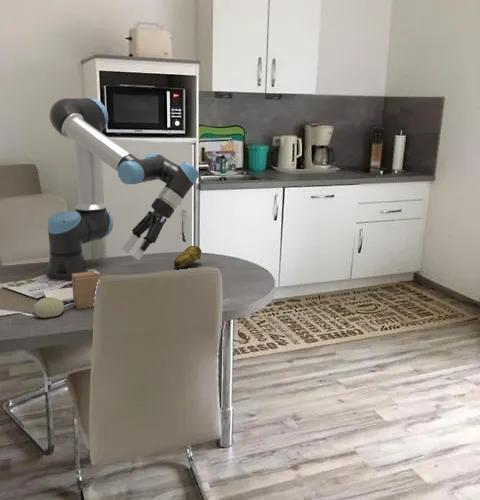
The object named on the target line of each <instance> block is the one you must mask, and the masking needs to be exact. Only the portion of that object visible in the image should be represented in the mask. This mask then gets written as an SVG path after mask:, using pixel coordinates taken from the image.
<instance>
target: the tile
mask: <svg viewBox="0 0 480 500" xmlns="http://www.w3.org/2000/svg"><path fill="white" fill-rule="evenodd" d="M44 295H45V296H44ZM43 296H44V298H45V297H53V298H57V299H59V300H61V301H70V300H73V286H72V287H66V288H65V287H64V288H57V289H48V290H43Z"/></svg>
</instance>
